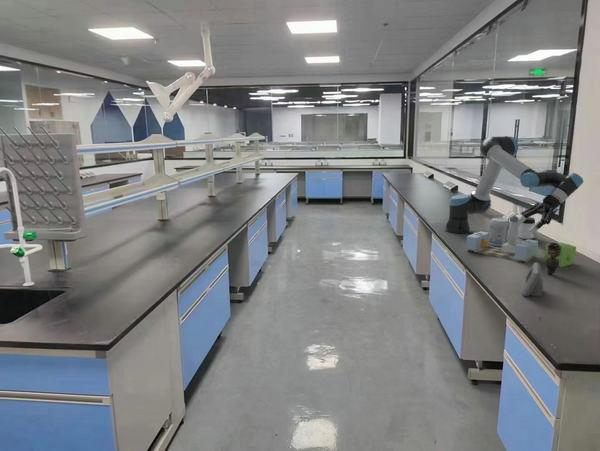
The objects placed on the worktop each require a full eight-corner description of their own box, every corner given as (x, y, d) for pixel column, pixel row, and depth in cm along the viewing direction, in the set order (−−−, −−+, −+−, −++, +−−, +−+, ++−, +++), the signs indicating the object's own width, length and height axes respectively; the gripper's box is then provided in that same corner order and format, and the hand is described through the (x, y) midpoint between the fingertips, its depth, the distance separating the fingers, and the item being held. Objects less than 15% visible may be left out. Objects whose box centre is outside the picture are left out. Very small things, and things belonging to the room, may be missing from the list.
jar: (527, 239, 243) (530, 220, 241) (514, 237, 250) (516, 218, 247) (535, 237, 248) (538, 218, 245) (522, 235, 255) (524, 216, 252)
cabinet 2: (514, 258, 203) (515, 243, 201) (526, 252, 214) (528, 237, 212) (524, 260, 200) (526, 245, 198) (536, 254, 210) (538, 239, 209)
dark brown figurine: (545, 271, 189) (549, 240, 185) (558, 274, 185) (563, 242, 182) (542, 274, 184) (546, 243, 181) (556, 277, 181) (561, 245, 178)
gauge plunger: (475, 244, 224) (475, 239, 223) (477, 243, 226) (478, 238, 225) (486, 246, 220) (486, 241, 219) (488, 245, 222) (489, 240, 221)
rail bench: (467, 250, 223) (468, 246, 223) (477, 246, 231) (478, 242, 230) (526, 262, 201) (526, 258, 201) (535, 257, 209) (535, 253, 209)
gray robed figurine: (523, 283, 175) (526, 259, 172) (547, 288, 169) (550, 264, 166) (513, 294, 163) (516, 269, 160) (539, 300, 157) (542, 274, 155)
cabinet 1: (466, 248, 221) (467, 234, 220) (479, 243, 232) (480, 229, 230) (475, 250, 218) (476, 236, 216) (488, 244, 228) (489, 231, 227)
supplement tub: (497, 241, 240) (499, 217, 237) (510, 245, 232) (513, 220, 228) (484, 243, 237) (486, 218, 234) (497, 247, 228) (499, 221, 225)
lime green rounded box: (557, 271, 191) (561, 252, 188) (537, 264, 199) (540, 246, 197) (580, 264, 199) (583, 246, 196) (560, 258, 207) (563, 240, 204)
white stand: (501, 251, 213) (504, 215, 208) (505, 248, 216) (509, 214, 212) (515, 253, 207) (519, 217, 203) (519, 251, 211) (523, 215, 207)
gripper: (576, 208, 194) (543, 239, 196) (543, 200, 218) (513, 228, 220) (567, 197, 192) (533, 229, 195) (534, 190, 217) (504, 219, 219)
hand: (522, 228), depth 208 cm, fingers open, 13 cm apart
